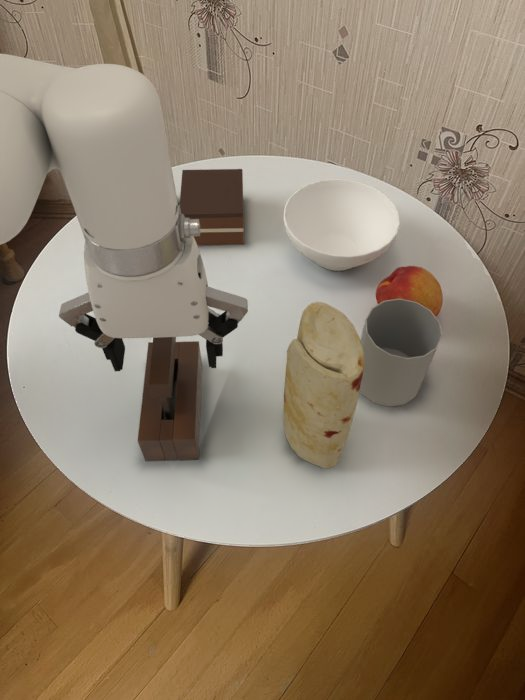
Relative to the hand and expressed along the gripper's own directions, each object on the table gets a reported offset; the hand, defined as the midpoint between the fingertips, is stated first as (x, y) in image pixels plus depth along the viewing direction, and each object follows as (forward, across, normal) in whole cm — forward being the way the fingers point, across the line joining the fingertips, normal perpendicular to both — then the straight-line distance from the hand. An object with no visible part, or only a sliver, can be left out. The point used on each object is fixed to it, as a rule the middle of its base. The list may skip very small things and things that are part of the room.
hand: (166, 358), depth 59 cm
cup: (+11, -25, -4) cm, 28 cm away
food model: (+11, -15, +4) cm, 20 cm away
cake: (+11, -3, -33) cm, 35 cm away
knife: (+11, +1, 0) cm, 11 cm away
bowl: (+11, -21, -26) cm, 36 cm away
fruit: (+12, -29, -14) cm, 35 cm away
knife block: (+11, +1, 0) cm, 11 cm away
